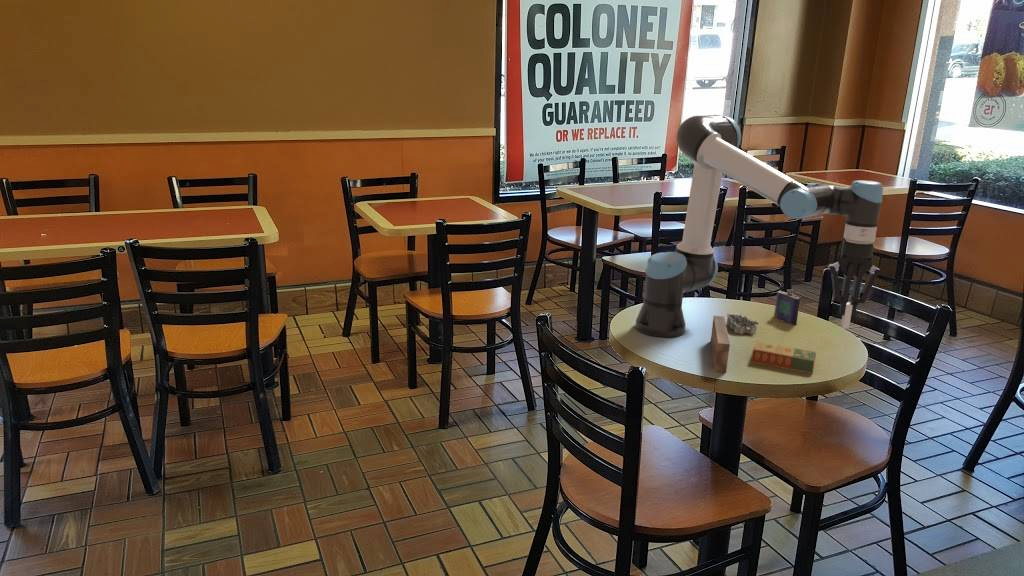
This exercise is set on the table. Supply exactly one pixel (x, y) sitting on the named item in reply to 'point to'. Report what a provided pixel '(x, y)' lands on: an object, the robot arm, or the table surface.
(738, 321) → the egg carton
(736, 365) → the table surface
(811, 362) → the carton
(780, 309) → the flask
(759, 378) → the table surface
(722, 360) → the board
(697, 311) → the table surface
